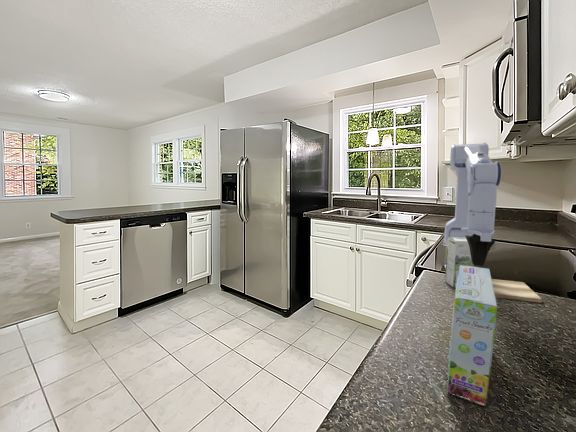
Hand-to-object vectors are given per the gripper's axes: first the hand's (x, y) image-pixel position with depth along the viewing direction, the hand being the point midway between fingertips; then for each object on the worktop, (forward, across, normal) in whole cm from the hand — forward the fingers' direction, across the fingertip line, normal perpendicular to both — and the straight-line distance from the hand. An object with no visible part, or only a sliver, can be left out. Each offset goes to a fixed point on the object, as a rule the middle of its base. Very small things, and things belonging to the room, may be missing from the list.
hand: (477, 264), depth 74 cm
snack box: (+11, +30, -6) cm, 32 cm away
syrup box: (+11, -14, -2) cm, 18 cm away
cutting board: (+10, -14, +9) cm, 20 cm away
